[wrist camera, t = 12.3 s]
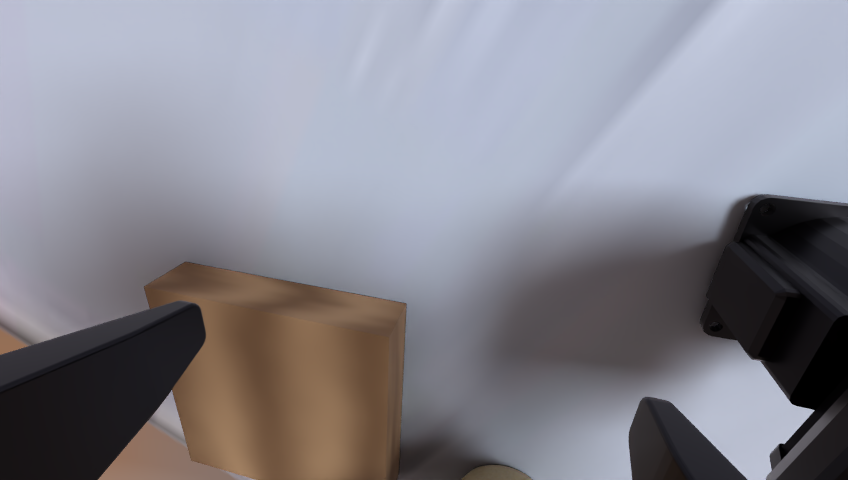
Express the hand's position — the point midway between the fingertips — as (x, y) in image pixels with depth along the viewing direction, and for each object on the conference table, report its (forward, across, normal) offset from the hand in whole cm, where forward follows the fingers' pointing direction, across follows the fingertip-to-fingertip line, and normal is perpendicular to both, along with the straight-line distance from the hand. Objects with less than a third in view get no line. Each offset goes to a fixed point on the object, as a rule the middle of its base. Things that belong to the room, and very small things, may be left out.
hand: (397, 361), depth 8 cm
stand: (+12, +10, +14) cm, 21 cm away
